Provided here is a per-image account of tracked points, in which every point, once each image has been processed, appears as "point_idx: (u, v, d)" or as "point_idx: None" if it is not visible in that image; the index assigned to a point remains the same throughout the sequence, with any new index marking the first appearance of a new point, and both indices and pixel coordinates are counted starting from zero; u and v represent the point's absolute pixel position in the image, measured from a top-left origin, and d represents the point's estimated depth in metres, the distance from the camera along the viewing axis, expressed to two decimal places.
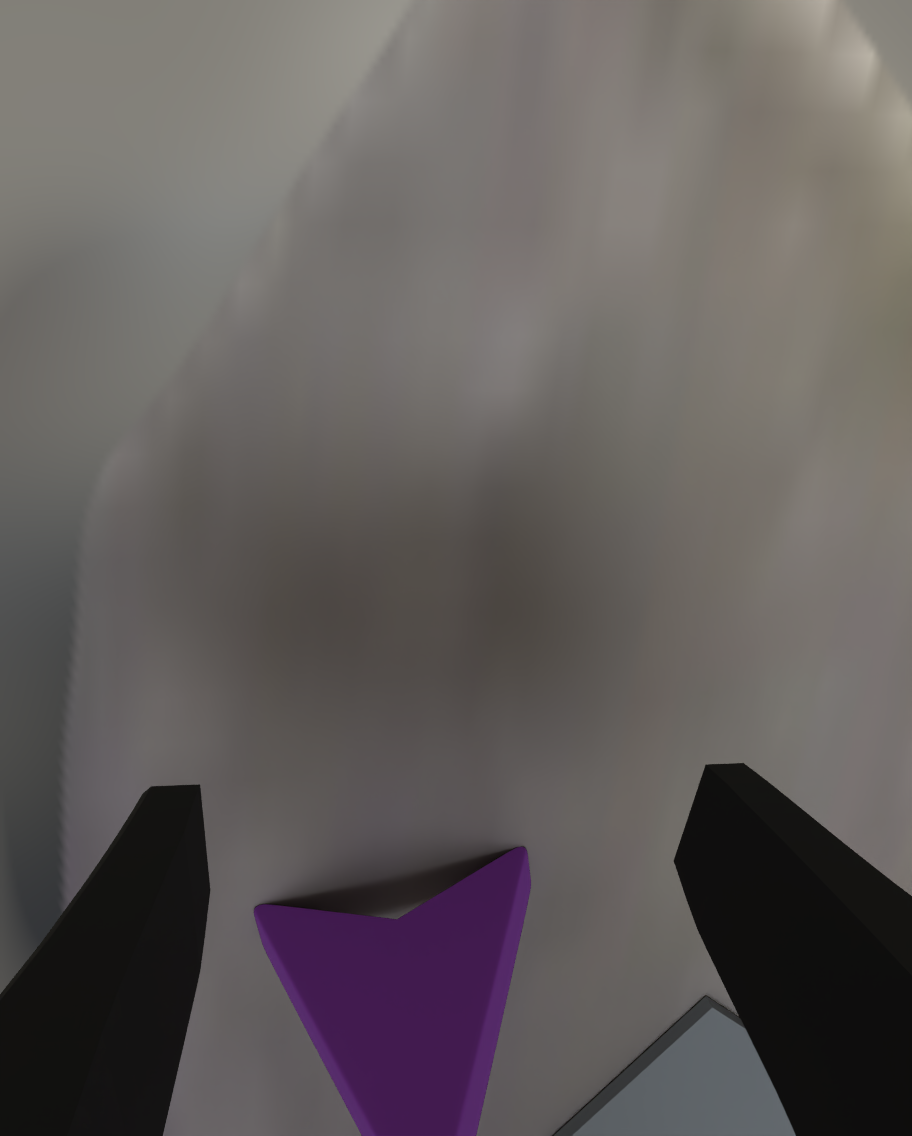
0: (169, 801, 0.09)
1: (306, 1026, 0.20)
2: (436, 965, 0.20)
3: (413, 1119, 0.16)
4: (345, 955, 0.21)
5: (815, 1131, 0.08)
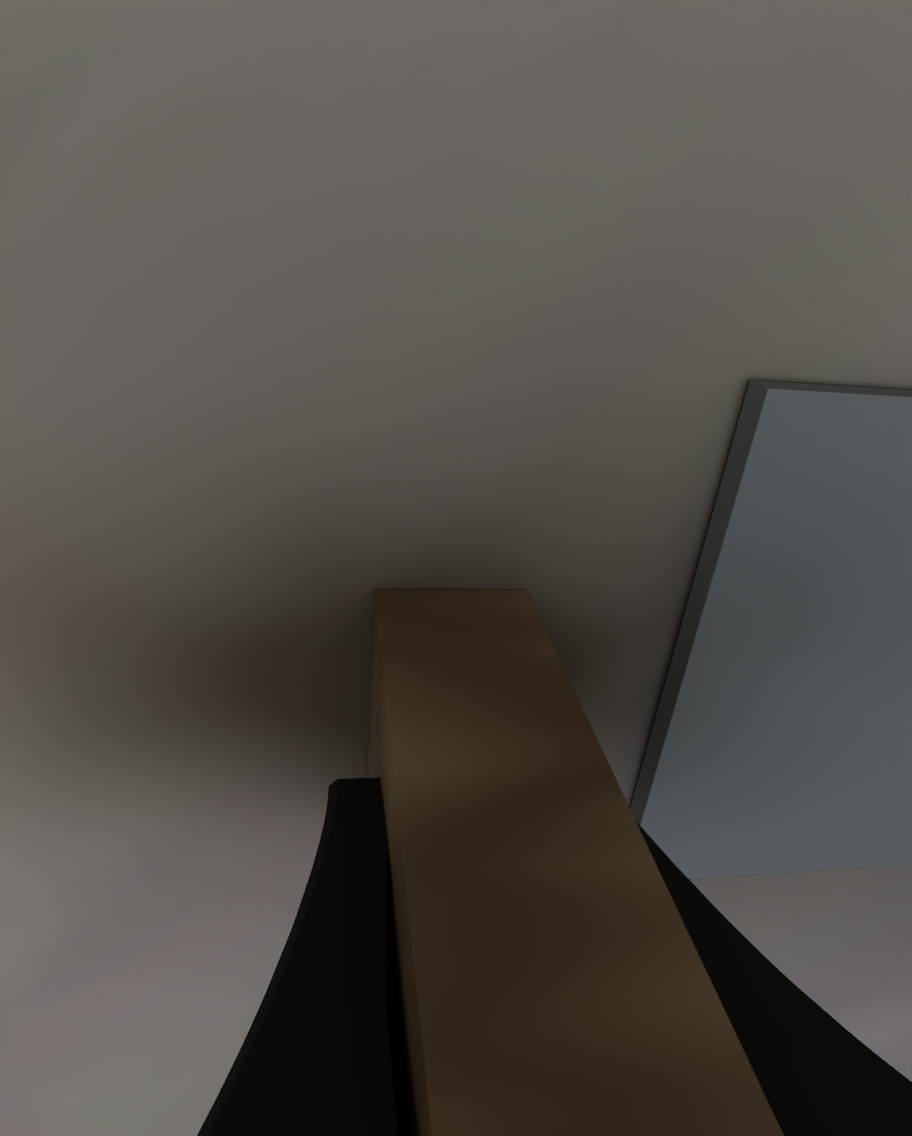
0: (362, 793, 0.09)
1: None
2: None
3: None
4: None
5: None
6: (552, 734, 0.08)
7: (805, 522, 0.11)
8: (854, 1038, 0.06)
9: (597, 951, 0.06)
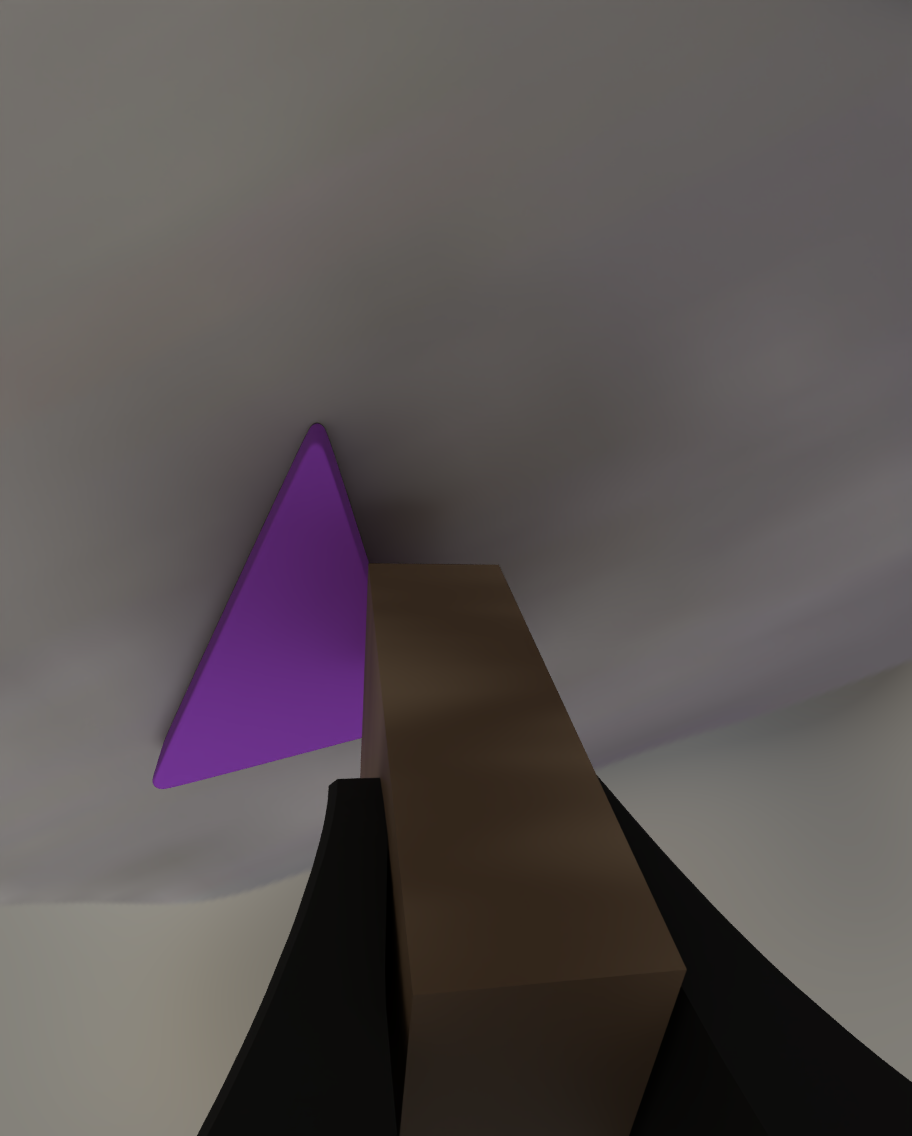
0: (362, 793, 0.09)
1: None
2: None
3: None
4: None
5: None
6: (512, 670, 0.10)
7: None
8: (854, 1038, 0.06)
9: (535, 812, 0.08)
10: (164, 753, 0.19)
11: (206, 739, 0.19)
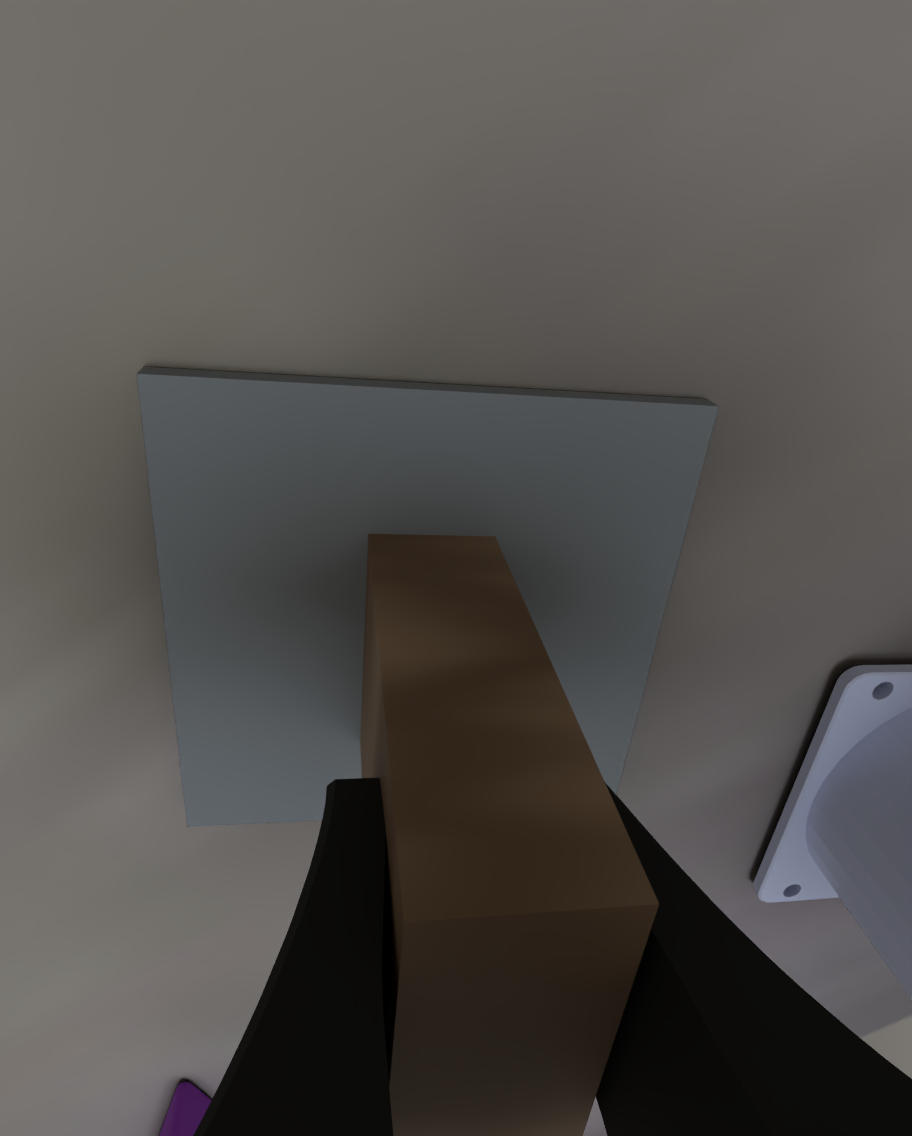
0: (360, 794, 0.09)
1: None
2: None
3: None
4: None
5: None
6: (505, 634, 0.11)
7: (226, 492, 0.13)
8: (858, 1038, 0.06)
9: (523, 764, 0.08)
10: None
11: None
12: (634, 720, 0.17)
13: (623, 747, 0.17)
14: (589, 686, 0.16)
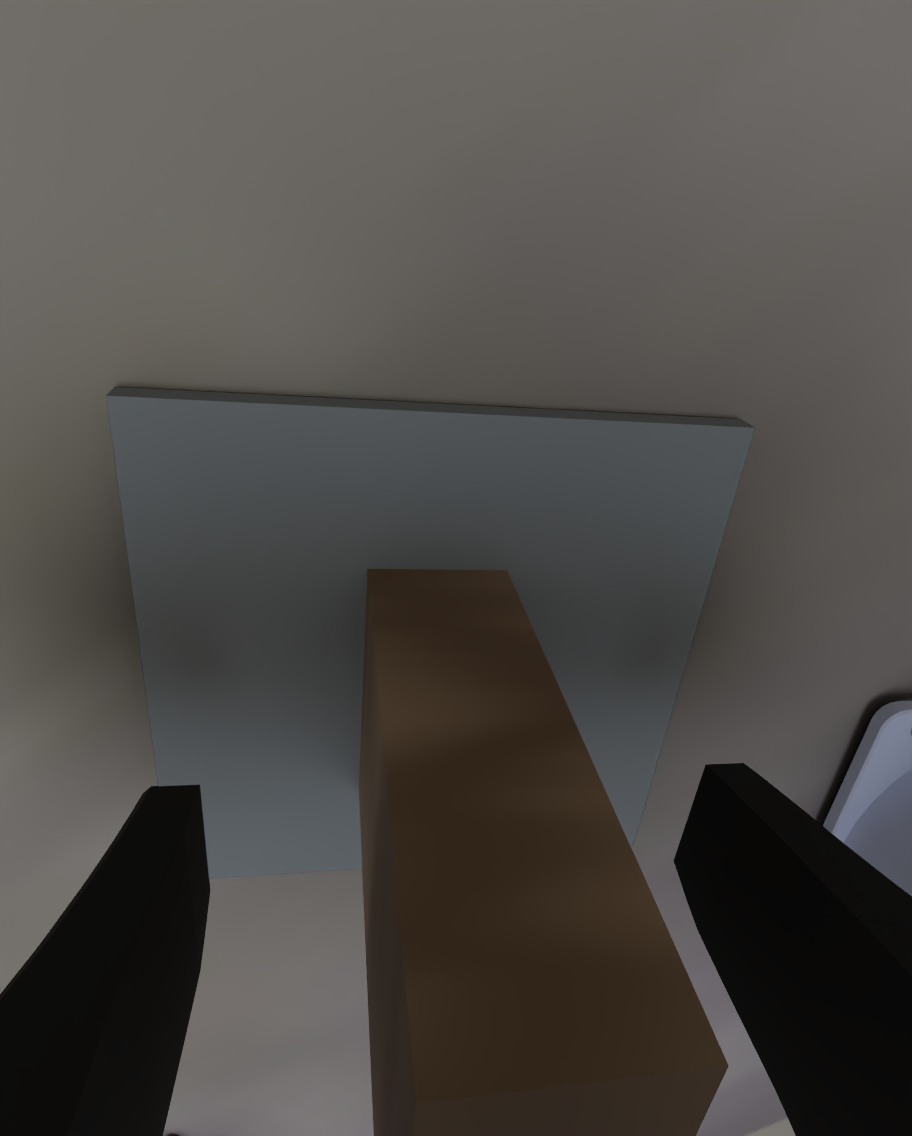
0: (169, 802, 0.09)
1: None
2: None
3: None
4: None
5: (815, 1131, 0.08)
6: (524, 693, 0.09)
7: (209, 526, 0.11)
8: None
9: (552, 865, 0.07)
10: None
11: None
12: (655, 762, 0.15)
13: (642, 791, 0.16)
14: (607, 728, 0.15)
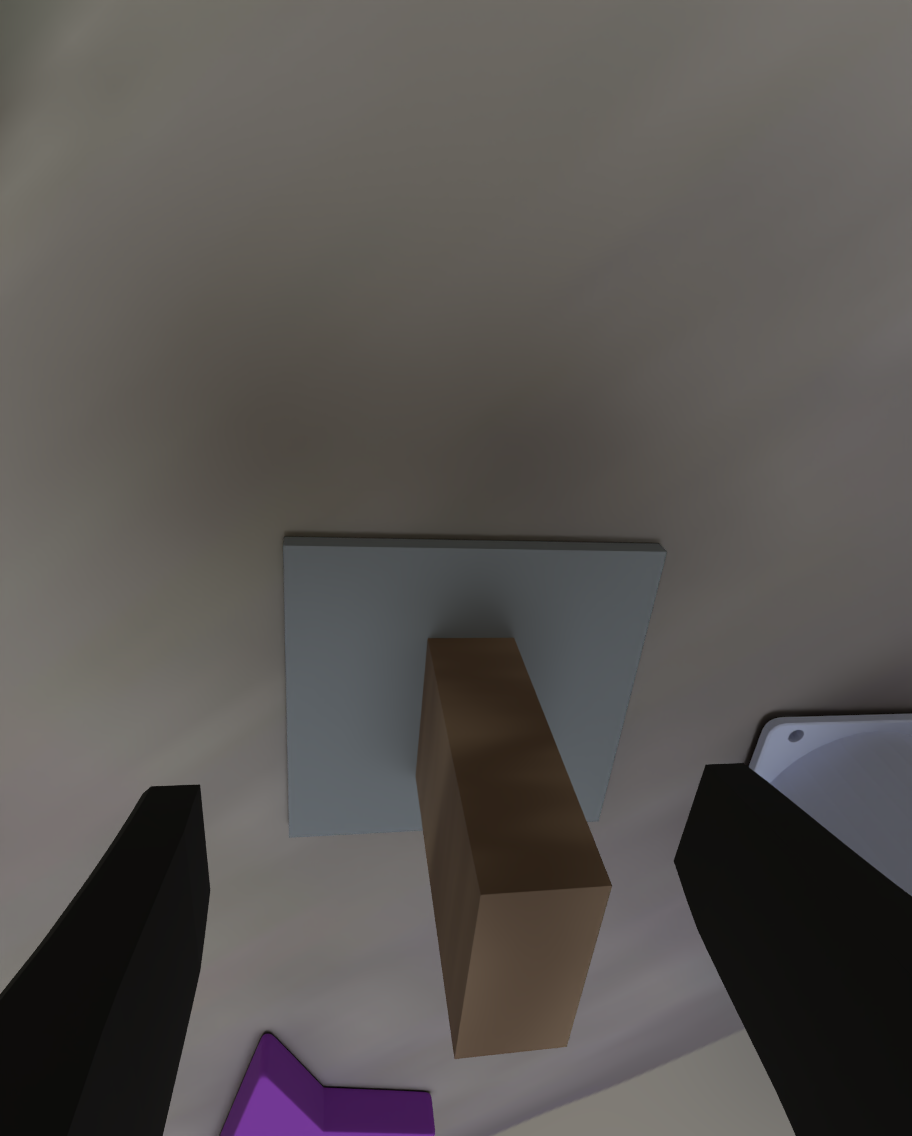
0: (169, 801, 0.09)
1: None
2: None
3: None
4: None
5: (815, 1131, 0.08)
6: (524, 718, 0.17)
7: (334, 615, 0.19)
8: None
9: (538, 806, 0.14)
10: None
11: None
12: (613, 759, 0.23)
13: (605, 778, 0.23)
14: (580, 736, 0.22)
